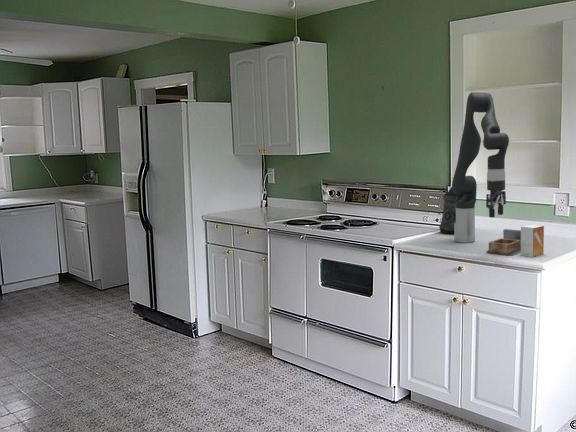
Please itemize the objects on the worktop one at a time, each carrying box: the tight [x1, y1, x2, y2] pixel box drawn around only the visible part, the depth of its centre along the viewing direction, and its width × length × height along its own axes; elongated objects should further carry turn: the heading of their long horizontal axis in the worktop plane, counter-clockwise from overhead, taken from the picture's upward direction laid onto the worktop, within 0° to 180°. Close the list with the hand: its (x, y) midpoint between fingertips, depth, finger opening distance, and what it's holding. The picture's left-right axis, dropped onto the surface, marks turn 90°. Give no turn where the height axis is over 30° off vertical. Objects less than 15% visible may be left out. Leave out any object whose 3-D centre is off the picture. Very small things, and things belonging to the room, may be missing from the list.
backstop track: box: [485, 228, 521, 257], centre depth 272 cm, size 14×21×8 cm, turn 135°
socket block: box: [488, 237, 521, 257], centre depth 269 cm, size 10×12×5 cm
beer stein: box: [438, 187, 464, 236], centre depth 323 cm, size 16×19×25 cm
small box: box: [520, 224, 545, 258], centre depth 260 cm, size 8×6×13 cm
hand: (496, 216), depth 259 cm, fingers open, 8 cm apart
